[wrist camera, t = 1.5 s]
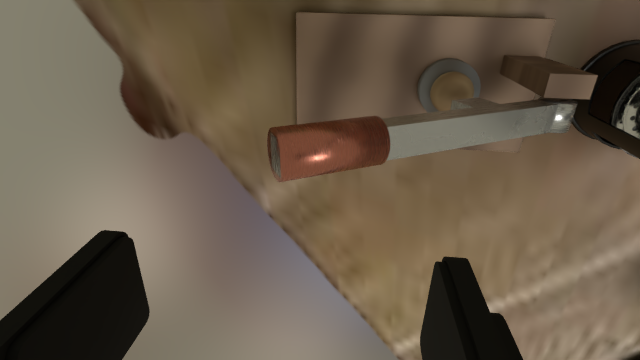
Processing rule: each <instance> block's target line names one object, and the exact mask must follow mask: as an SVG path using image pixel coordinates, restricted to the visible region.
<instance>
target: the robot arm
mask: <svg viewBox="0 0 640 360" xmlns="http://www.w3.org/2000/svg"><path fill="white" fill-rule="evenodd" d="M148 317H149V306H148V301H147V298H146V293H145V289H144V284H143V280H142V276H141V272H140V268H139V263H138V259H137V255H136V250H135V246H134V242H133V240H132V239H131V238H129V237H128V235H127V234H126V233H125V232H119V231H107V230H104V231H101V232H99V233H98V234H97V235H96V236H94V237H93V238H92V239H91V240H90V241H89V242H88V243H87V244H85V245H84V246H83V247H82V248H81V249H80V250H79V251H78V252H77V253H75V254H74V255H73V256H72V257H71V258H70V259H69V260H68V261H66V262H65V263H64V264H63V265H62V266H61V267H60V268H59V269H57V270H56V271H55V272H54V273H53V274H52V275H51V276H50V277H49V278H47V279H46V280H45V281H44V282H43V283H42V284H41V285H40V286H39V287H37V288H36V289H35V290H34V291H33V292H32V293H31V294H30V295H28V296H27V297H26V298H25V299H24V300H23V301H22V302H20V303H19V304H18V305H17V306H16V307H15V308H14V309H13V310H12V311H10V312H9V313H8V314H7V315H6V316H5V317H4V318H3V319H1V320H0V360H122V359H123V357H124V356H125V354H126V353H127V351H128V350H129V348H130V347H131V345H132V344H133V342H134V341H135V339H136V338H137V336H138V335H139V333H140V332H141V330H142V328H143V327H144V326H145V324H146V322H147V320H148ZM420 347H421V353H422V359H423V360H523V358H522V356H521V354H520V351H519V349H518V347H517V345H516V343H515V340H514V338H513V336H512V334H511V332H510V329H509V327H508V325H507V323H506V321H505V319H504V317H503V316H502V315H501V314H499V313H490V311H489V309H488V306H487V304H486V302H485V299H484V297H483V294H482V292H481V290H480V287H479V285H478V282H477V280H476V277H475V275H474V273H473V270H472V268H471V265H470V263H469V261H468V259H466V258H457V257H444V258H443V259H442V262H435V265H434V270H433V275H432V280H431V285H430V290H429V295H428V300H427V305H426V310H425V315H424V320H423V325H422V330H421V336H420Z"/></svg>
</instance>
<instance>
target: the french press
mask: <svg viewBox="0 0 640 360" xmlns="http://www.w3.org/2000/svg"><path fill="white" fill-rule="evenodd" d="M624 61H629V62H634V63H638V64H640V40H632V41H626V42H622V43H619V44H616V45H613V46H611V47H609V48H607V49H605V50H603V51H601V52H600V53H598V54H597V55H596V56H594V57H593V58H592V59H590V60H589V61H588V62H587V63H586V64H585V65H584V66H583V67H582V69H581V70H583V71H586V72H589V73H592V74H595V75H598V77H597V79H596V82H595V85H594V88H593V91H592V94H591V97H590V99H570V100H573V101H576V102H577V103H578V104H577V107H576V110H575V113H574V116H573V119H572V124H573V125H574V126H575V128H576V129H577V130H578V131H580V132H581V133H582V134H584V135H586V136H588V137H590V138H592V139H596V140H599V141H600V142H602V143H604V144H606V145H608V146H610V147H613V148H617V149H622V150H623V151H625V152H626V153H627V154H629V155H631V156H633V157H636V158H639V159H640V73H639V74H638V75H637V76H636V77H635V78H634V79H632V80H631V81H630V82H629V83H628V84H627V86H626V87H625V88H624V89H623V91H622V92H621V93H620V95H619V97H618V98H617V100H616V102H615V104H614V106H613V109H612V111H611V116H610V124H609V123H607V122H605V121H603V120H601V119H599V118H597V117H596V116H594V115H592V114H590V108H591V103H592V100H593V97H594V94H595V92H596V90H597V89H598V87H599V85H600V84H601V82H602V81H603V80H604V79H605V77H606V76H607V75H608V74H609V73H610V72H611V71H612V70H613V69H614V68H616V67H617V66H618V65H620V64H621V63H623V62H624Z"/></svg>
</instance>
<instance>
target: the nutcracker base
mask: <svg viewBox="0 0 640 360" xmlns="http://www.w3.org/2000/svg"><path fill="white" fill-rule="evenodd" d="M555 20H556V19H549V18H524V17H485V16H446V15H407V14H368V13H329V12H296V79H297V124H306V123H315V122H323V121H332V120H340V119H349V118H358V117H366V116H379V117H380V118H389V117H397V116H405V115H414V114H422V113H430V112H438V111H447V110H450V108H451V103H452V100H458V99H467V98H476V97H478V98H482V99H485V100H488V101H492V102H495V103H498V104H505V103H513V102H521V101H530V100H534V97H535V93H536V94H538V95H540V96H542V97H544V98H567V99H590V97H591V94H592V91H593V88H594V85H595V82H596V79H597V77H598V75H595V74H592V73H589V72H586V71H583V70H580V69H577V68H574V67H571V66H568V65H565V64H562V63H559V62H555V61H552V60H549V59H546V58H545V57H546V53H547V49H548V46H549V42H550V38H551V35H552V31H553V27H554V24H555ZM522 141H523V137H520V138H514V139H509V140H503V141H497V142H491V143H485V144H480V145H474V146H468V147H462V148H456V149H466V150H485V151H503V152H519V151H520V148H521V144H522Z"/></svg>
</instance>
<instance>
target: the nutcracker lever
mask: <svg viewBox="0 0 640 360" xmlns="http://www.w3.org/2000/svg"><path fill="white" fill-rule="evenodd" d="M577 104H578V103H577V102H576V101H573V100H570V99H565V98H544V97H540V98H539V99H538V100H530V101H521V102H513V103H505V104H498V103H495V102H492V101H488V100H485V99H482V98H478V97H476V98H467V99H458V100H452V103H451V108H450V110H447V111H438V112H430V113H422V114H414V115H405V116H397V117H389V118H380V117H379V116H366V117H358V118H349V119H340V120H332V121H323V122H315V123H306V124H297V125H289V126H280V127H272V128H270V129H269V132H268V138H267V148H268V156H269V162H270V166H271V169H272V172H273V175H274V177H275V178H276V180H277V181H278V182H284V181H289V180H295V179H301V178H306V177H312V176H318V175H324V174H329V173H335V172H341V171H346V170H352V169H358V168H363V167H369V166H375V165H381V164H383V163H384V162H385V161H386V160H392V159H398V158H404V157H410V156H416V155H421V154H427V153H433V152H439V151H445V150H450V149H456V148H462V147H468V146H474V145H480V144H485V143H491V142H497V141H503V140H509V139H514V138H520V137H526V136H532V135H538V134H543V133H549V132H552V133H566V132H568V131H569V128H570V125H571V122H572V119H573V116H574V113H575V110H576V107H577Z"/></svg>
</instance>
